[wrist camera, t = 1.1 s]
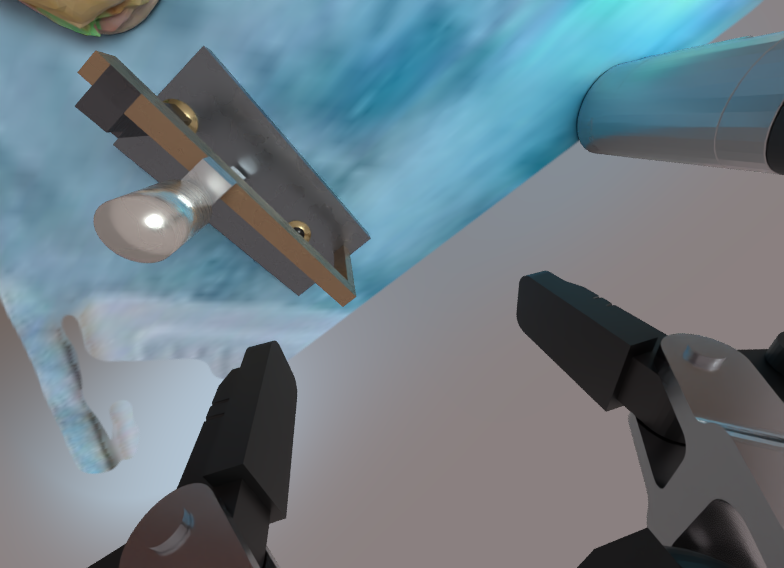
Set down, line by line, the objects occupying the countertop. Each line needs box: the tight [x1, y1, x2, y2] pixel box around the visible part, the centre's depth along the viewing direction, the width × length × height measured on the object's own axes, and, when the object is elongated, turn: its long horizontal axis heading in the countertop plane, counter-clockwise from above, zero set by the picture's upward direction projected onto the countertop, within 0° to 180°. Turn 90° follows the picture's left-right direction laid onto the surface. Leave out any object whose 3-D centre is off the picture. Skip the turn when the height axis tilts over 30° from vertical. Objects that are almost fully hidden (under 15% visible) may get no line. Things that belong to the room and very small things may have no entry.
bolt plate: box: [75, 46, 371, 307], centre depth 25 cm, size 12×22×12 cm, turn 37°
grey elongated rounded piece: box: [94, 157, 246, 263], centre depth 20 cm, size 5×3×17 cm
